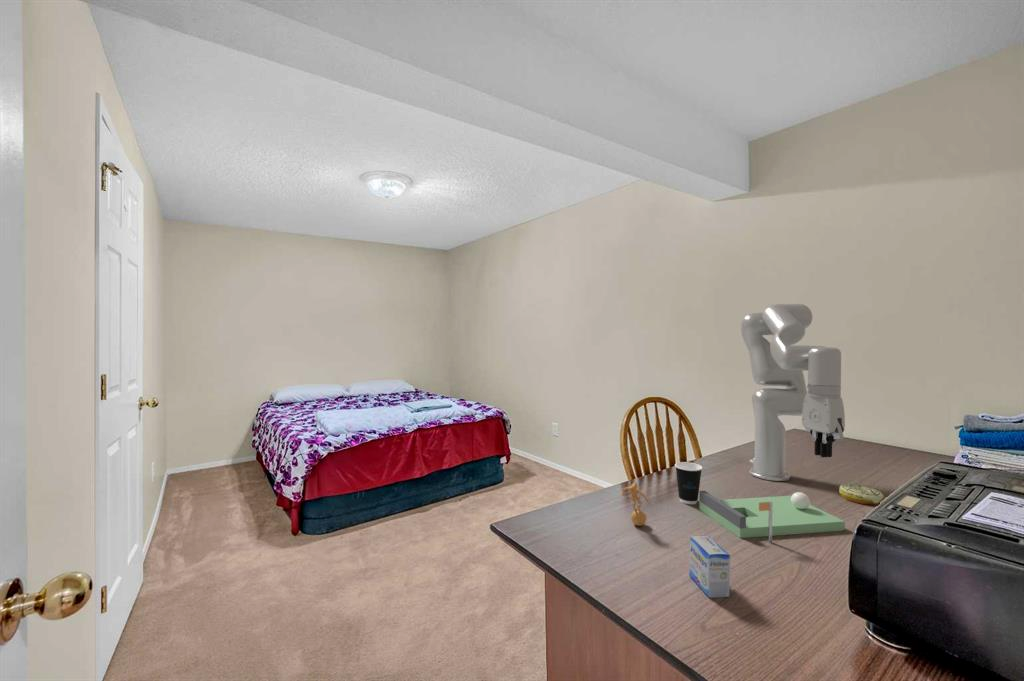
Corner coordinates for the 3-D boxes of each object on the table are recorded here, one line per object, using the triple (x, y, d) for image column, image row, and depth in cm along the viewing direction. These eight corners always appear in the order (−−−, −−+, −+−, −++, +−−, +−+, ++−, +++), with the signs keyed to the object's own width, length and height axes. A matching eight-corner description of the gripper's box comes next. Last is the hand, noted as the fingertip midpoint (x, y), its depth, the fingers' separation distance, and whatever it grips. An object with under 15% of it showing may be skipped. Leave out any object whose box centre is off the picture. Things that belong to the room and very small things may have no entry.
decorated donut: (885, 509, 127) (885, 497, 127) (839, 501, 133) (840, 489, 133) (881, 498, 136) (881, 486, 135) (838, 491, 142) (838, 479, 142)
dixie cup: (689, 495, 138) (689, 460, 138) (708, 504, 130) (708, 468, 130) (668, 498, 135) (669, 463, 135) (687, 508, 128) (687, 471, 127)
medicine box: (688, 576, 92) (688, 535, 92) (708, 575, 93) (708, 534, 92) (708, 598, 84) (708, 554, 84) (730, 597, 85) (730, 553, 84)
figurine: (656, 528, 115) (656, 483, 114) (644, 535, 111) (644, 488, 110) (629, 518, 121) (629, 475, 121) (616, 524, 117) (617, 480, 117)
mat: (699, 509, 127) (699, 490, 127) (791, 503, 131) (791, 485, 131) (739, 538, 109) (740, 516, 109) (844, 530, 113) (845, 510, 113)
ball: (786, 505, 123) (787, 490, 123) (801, 505, 124) (801, 489, 124) (799, 512, 119) (799, 496, 119) (814, 511, 119) (814, 495, 119)
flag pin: (757, 542, 107) (758, 502, 107) (770, 541, 107) (770, 501, 107) (759, 543, 106) (760, 503, 106) (772, 542, 107) (773, 502, 106)
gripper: (790, 387, 129) (789, 449, 129) (836, 395, 114) (835, 464, 114) (813, 387, 130) (812, 448, 130) (861, 394, 115) (860, 463, 115)
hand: (823, 455), depth 122 cm, fingers closed
